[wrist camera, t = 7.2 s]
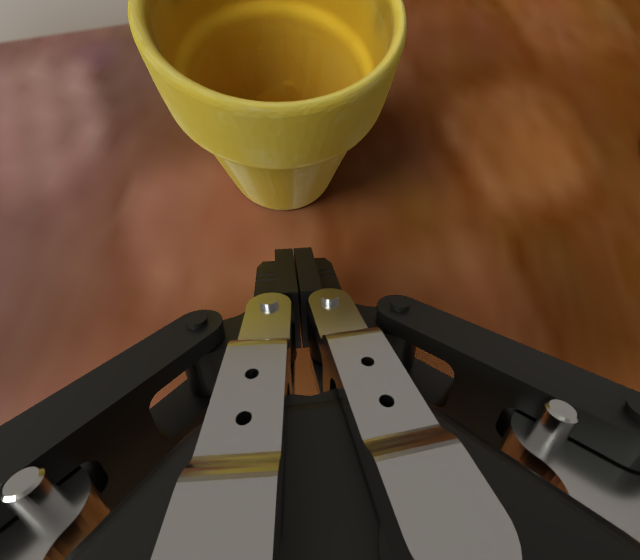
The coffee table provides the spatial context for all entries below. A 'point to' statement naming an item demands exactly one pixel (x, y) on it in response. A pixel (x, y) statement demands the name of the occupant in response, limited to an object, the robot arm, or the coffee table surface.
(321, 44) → the plant pot
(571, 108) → the coffee table surface
